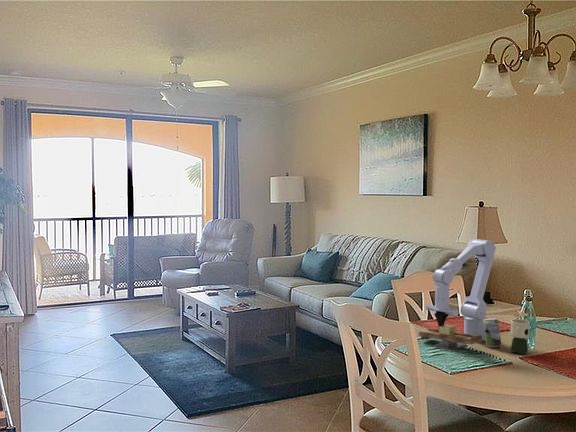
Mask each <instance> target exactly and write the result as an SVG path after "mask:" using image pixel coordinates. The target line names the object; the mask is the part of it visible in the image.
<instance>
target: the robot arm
mask: <svg viewBox="0 0 576 432" xmlns="http://www.w3.org/2000/svg"><path fill="white" fill-rule="evenodd" d="M495 252H496V246H495V243H494V242H493V241H492V240H491V239H489V240H487V239H479V238H472V239H471V240H470V241H468V243H467V246H466V247H465V249H463V251H462V252H461V253H460V254H459V255H458V256H457V257H456V258H454V257H452V258H450V259H449V260H448V262H447V263H446V264H444V265H443V266H442V267H441V268H438V269H436V270H435V271H434V272H433V275H432V280H433V282H434V288H435V291H434V292H435V293H434V305H433V304H427V305H425V310H426V311H432V312H435V313H434V318H435V319H436V321H437V325H438V327H437V330H439V326H442V325H445V322H446V320H447V318H448V316H449V315H450V316H451V315H452V316H454V317H457V316H459V310H458V309H457V310H456V309H452V308H450V286H451V285H450V284H451V283H452V282H453V279H454V278H455V275H457V274H458V272H459V271H461V270H462V268H463V265H464V263H466V262H467V261H468V260H469V259H471V258H472V257H475V258H476V259H477V260H478V265H477V269H476V272H475V276H474V279H473V283H472V288H471V290H470V295H469V296H467V297H465V298H464V300H463V302H462V305H461V306H460V314H461V315H462V318H463V319H464V321H463V334H469V335H481V336H482V338H483V341H482V342H484V341H485V342H486V340H485V332H484V323H483V322H484V319H485V317H486V315H487V309H486V308H487V303H486V302H485V300H484V296H485V292H486V290H487V289H486V287H487V284H488V281H489V276H490V273H491V269H492V266H493V263H494V256H495Z"/></svg>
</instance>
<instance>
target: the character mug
mask: <svg viewBox="0 0 576 432" xmlns="http://www.w3.org/2000/svg"><path fill="white" fill-rule="evenodd" d="M530 324H531V323H530V321H529V320H527V319H522V318H521V319H520V318H514V319H511V320H510V336H511V337H513V338H512V340H511V345H510V351H511V352H514V353H517V354H518V355H520V354H525V355H526V354H528V352H529V351H528V341H527V339H529V338H530V330H531V329H530V328H531V327H530V326H531V325H530Z"/></svg>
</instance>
